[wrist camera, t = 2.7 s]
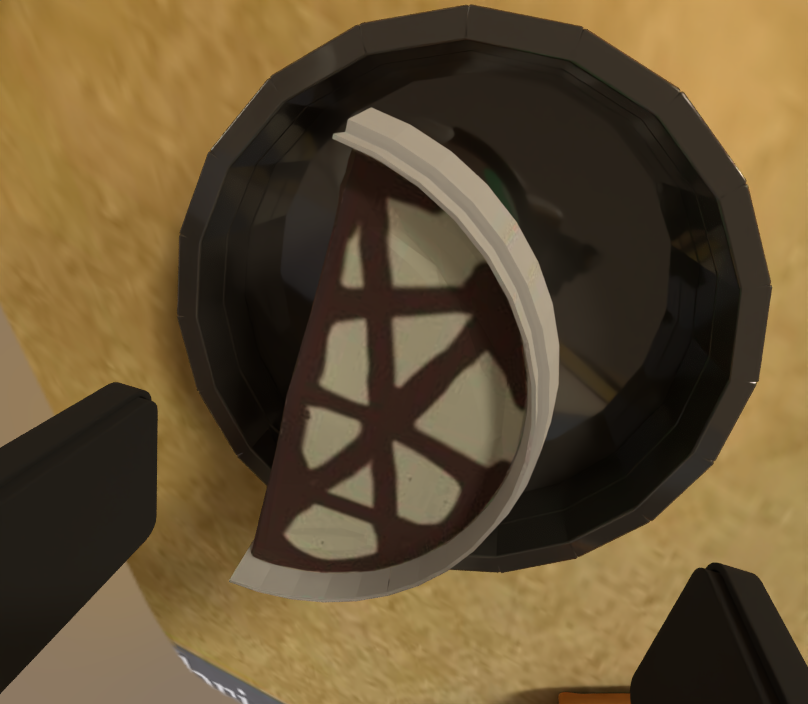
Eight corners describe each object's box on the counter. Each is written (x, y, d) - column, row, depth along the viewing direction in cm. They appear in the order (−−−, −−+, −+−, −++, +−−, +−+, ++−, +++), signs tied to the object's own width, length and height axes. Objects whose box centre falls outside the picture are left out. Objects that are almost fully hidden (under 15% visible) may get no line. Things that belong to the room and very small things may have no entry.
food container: (472, 465, 23) (444, 686, 14) (340, 414, 23) (224, 595, 14) (602, 179, 18) (697, 224, 8) (428, 119, 18) (340, 100, 9)
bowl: (221, 440, 25) (171, 491, 22) (253, -14, 18) (185, -53, 14) (607, 554, 23) (624, 630, 20) (825, 102, 16) (916, 92, 12)
